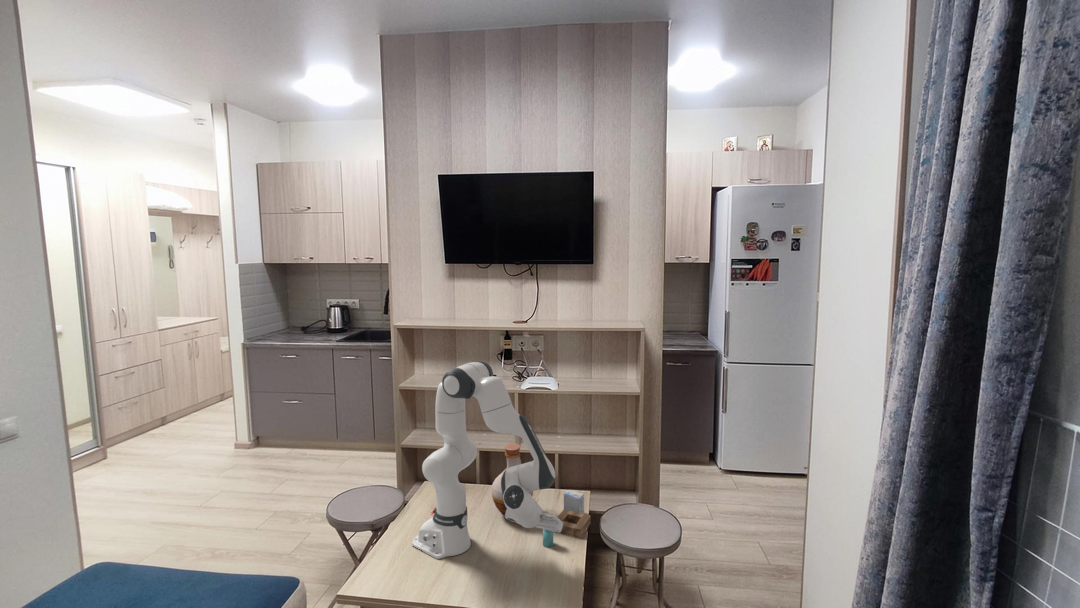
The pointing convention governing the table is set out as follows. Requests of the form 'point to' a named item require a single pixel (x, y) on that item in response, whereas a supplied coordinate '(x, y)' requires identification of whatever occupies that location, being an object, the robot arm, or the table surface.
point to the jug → (512, 460)
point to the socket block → (574, 523)
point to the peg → (547, 538)
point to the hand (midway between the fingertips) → (540, 526)
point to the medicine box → (574, 501)
